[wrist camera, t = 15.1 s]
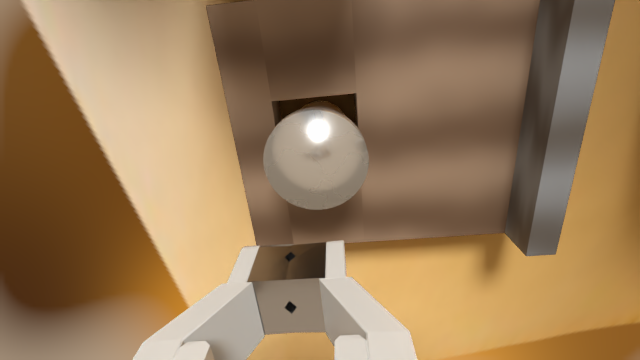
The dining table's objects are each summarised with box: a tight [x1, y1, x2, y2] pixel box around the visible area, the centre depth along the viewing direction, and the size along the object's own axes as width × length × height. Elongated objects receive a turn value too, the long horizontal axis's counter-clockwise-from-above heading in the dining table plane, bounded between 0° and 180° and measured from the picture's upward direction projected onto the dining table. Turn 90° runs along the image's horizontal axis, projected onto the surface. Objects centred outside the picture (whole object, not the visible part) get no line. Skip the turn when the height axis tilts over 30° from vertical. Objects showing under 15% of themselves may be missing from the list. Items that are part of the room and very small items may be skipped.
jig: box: [206, 0, 615, 256], centre depth 22 cm, size 18×22×6 cm
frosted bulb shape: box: [263, 101, 369, 210], centre depth 22 cm, size 6×6×8 cm
